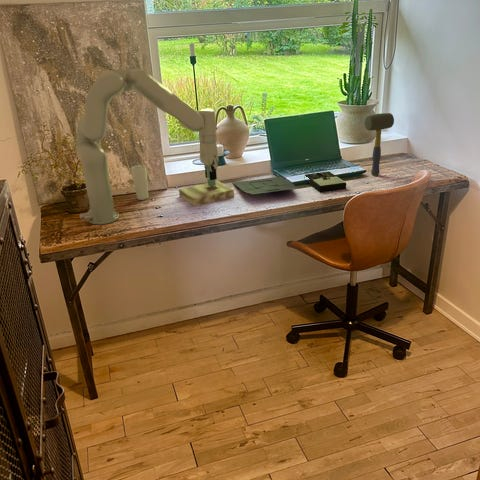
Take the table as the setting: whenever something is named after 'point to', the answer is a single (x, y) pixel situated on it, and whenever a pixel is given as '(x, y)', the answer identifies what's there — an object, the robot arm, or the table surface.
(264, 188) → the dark green panel
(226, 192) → the olive green slab
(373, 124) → the rubber mallet
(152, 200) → the table surface
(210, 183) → the dowel
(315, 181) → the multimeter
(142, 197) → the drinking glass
